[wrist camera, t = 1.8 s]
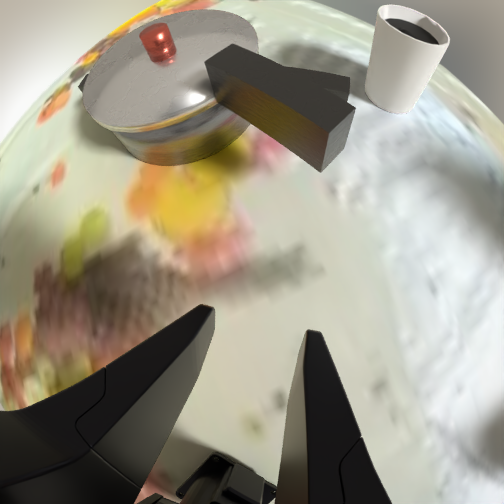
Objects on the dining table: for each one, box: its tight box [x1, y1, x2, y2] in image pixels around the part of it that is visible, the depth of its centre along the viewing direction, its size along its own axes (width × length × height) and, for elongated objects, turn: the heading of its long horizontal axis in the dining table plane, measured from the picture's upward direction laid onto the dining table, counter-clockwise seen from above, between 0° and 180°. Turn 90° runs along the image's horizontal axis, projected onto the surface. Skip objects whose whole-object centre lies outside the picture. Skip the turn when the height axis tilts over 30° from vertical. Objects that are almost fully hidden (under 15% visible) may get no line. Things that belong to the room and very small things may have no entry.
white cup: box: [364, 5, 450, 114], centre depth 20 cm, size 7×7×10 cm
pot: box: [78, 66, 350, 166], centre depth 24 cm, size 15×27×6 cm, turn 76°
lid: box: [83, 10, 356, 173], centre depth 18 cm, size 16×25×4 cm, turn 46°
